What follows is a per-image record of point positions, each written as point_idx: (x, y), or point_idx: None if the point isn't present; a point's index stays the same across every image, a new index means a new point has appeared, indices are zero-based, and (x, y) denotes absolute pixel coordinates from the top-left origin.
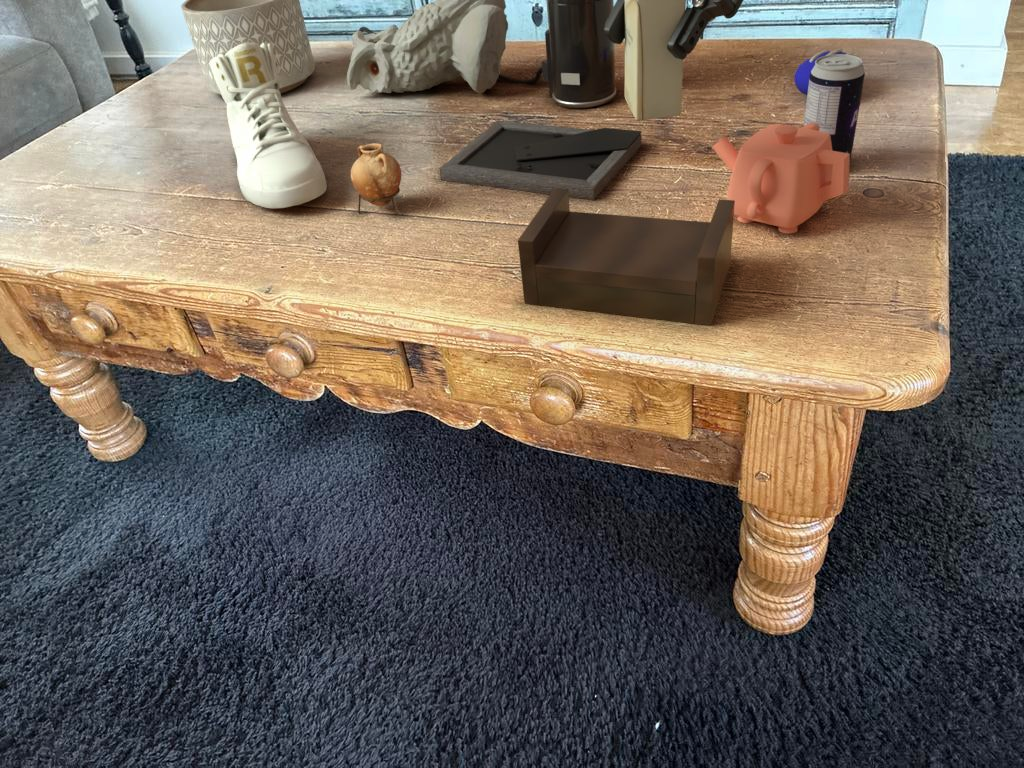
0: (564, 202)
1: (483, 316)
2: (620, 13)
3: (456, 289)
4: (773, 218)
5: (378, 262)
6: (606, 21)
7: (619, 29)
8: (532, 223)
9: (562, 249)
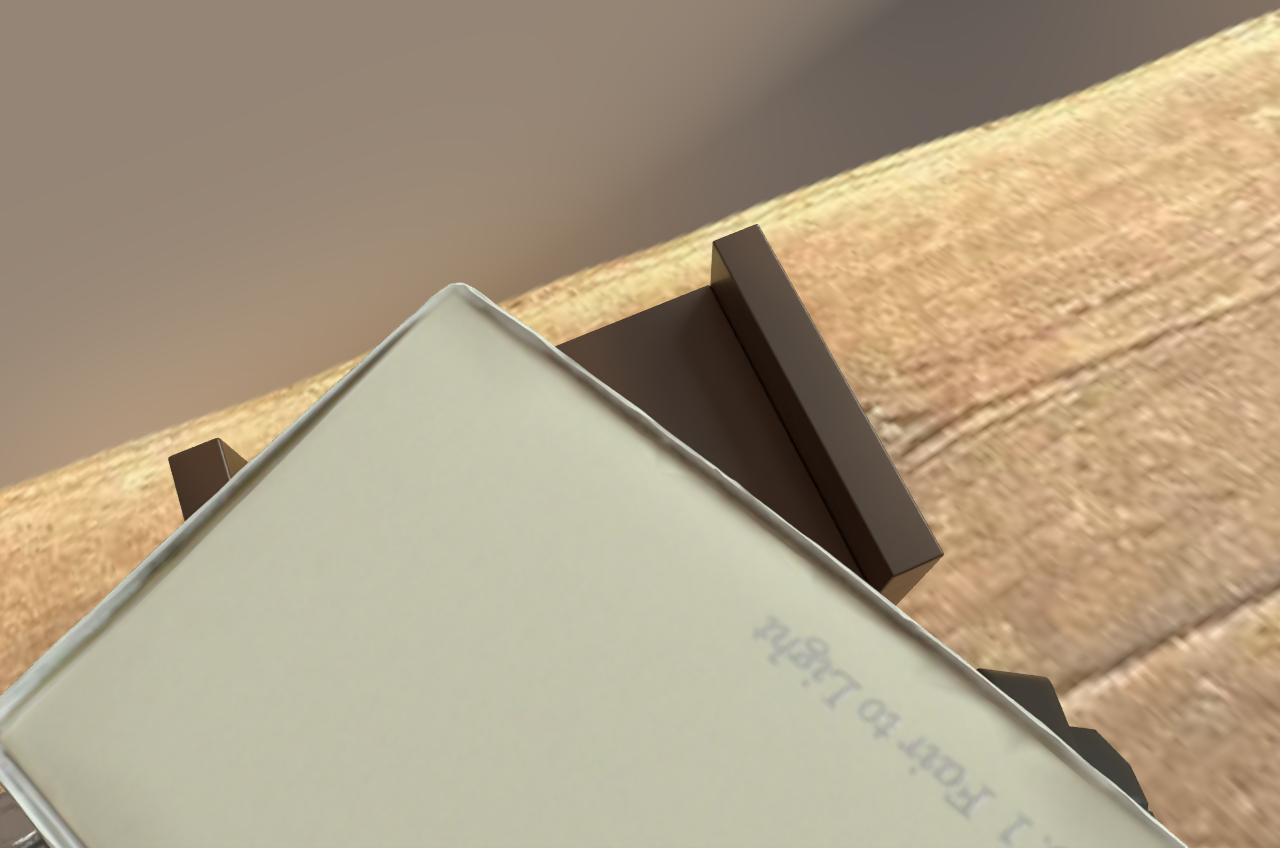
0: (860, 533)
1: (788, 238)
2: None
3: (951, 279)
4: None
5: (1260, 245)
6: (1129, 775)
7: None
8: (799, 316)
9: (705, 389)
